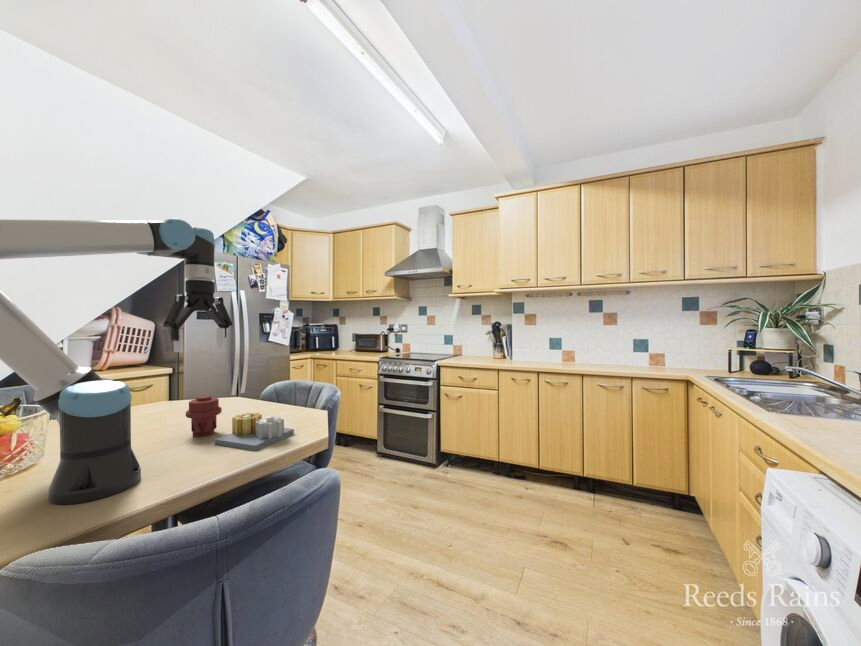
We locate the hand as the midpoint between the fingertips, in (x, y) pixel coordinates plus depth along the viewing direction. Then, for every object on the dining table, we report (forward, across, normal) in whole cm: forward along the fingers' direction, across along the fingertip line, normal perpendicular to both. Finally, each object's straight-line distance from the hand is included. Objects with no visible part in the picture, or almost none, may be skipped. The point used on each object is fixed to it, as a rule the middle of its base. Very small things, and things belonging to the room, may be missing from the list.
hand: (200, 350), depth 107 cm
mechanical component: (+29, +7, +8) cm, 31 cm away
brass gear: (+27, +10, -7) cm, 30 cm away
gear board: (+29, +9, -12) cm, 32 cm away
